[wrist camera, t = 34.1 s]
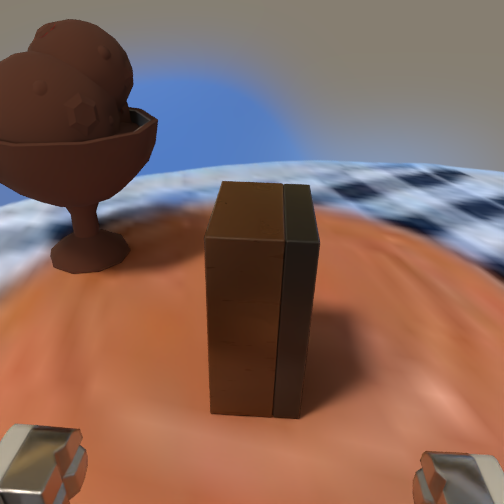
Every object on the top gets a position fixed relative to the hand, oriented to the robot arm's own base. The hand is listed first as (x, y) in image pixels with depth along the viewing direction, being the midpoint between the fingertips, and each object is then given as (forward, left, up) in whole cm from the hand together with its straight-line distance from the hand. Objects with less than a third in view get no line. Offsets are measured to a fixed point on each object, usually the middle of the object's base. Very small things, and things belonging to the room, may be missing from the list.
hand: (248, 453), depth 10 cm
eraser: (+2, -9, -7) cm, 11 cm away
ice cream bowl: (+17, -16, -7) cm, 24 cm away
